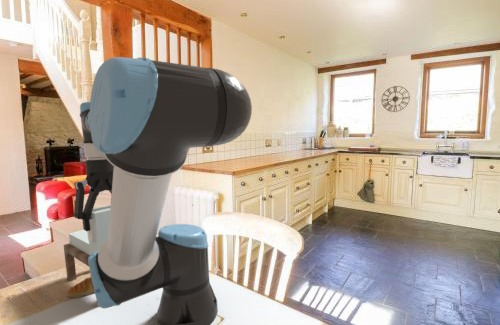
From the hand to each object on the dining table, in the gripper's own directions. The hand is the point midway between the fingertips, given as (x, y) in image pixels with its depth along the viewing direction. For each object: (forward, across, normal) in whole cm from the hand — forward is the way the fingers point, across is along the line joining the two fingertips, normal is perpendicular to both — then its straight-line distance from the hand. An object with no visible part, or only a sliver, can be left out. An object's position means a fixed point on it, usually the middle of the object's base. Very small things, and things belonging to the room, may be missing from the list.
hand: (107, 235), depth 79 cm
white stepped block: (+6, 0, -9) cm, 10 cm away
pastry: (+18, +3, -8) cm, 20 cm away
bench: (+18, 0, -9) cm, 20 cm away
